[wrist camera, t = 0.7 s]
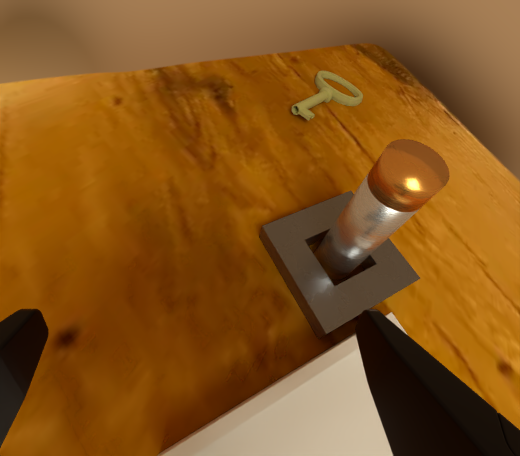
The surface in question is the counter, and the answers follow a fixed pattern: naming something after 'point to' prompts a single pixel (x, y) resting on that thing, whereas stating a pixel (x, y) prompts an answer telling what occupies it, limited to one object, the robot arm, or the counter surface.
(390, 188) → the pin
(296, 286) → the grey flat square frame
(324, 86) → the key
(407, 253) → the counter surface
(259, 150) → the counter surface
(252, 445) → the parts tray
